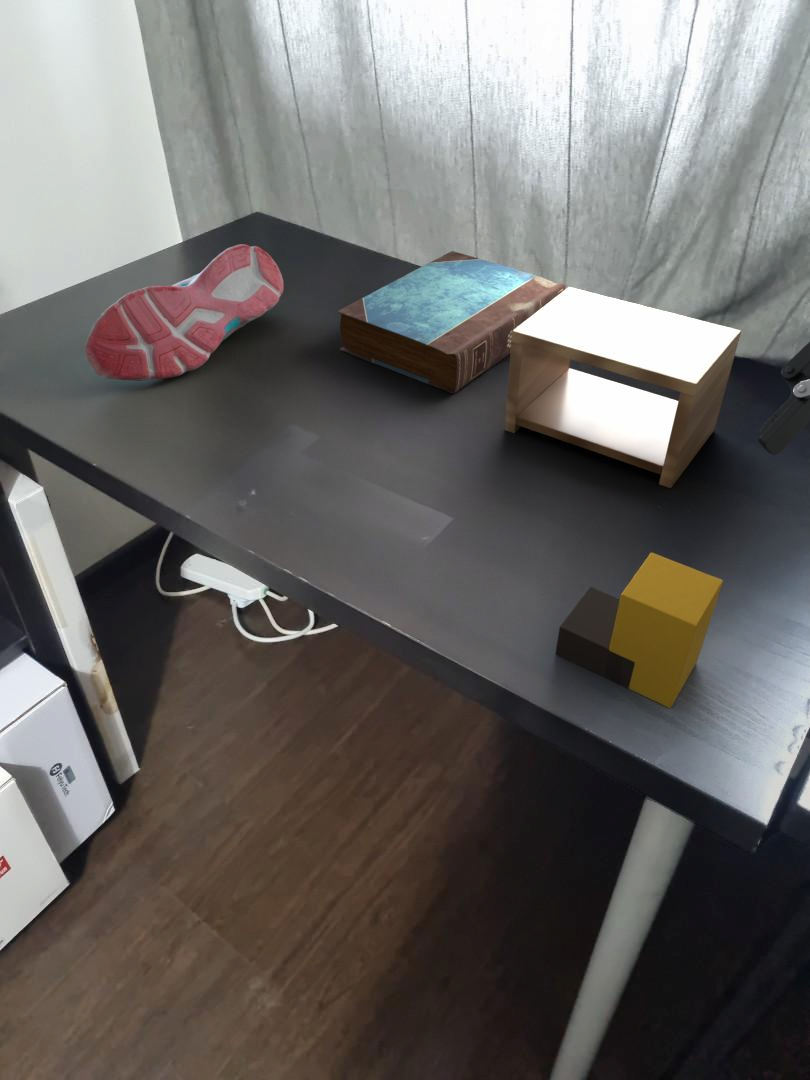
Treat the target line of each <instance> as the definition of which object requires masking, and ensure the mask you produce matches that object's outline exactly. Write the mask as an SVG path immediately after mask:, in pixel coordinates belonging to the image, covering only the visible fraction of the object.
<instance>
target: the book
mask: <svg viewBox="0 0 810 1080" xmlns="http://www.w3.org/2000/svg"><path fill="white" fill-rule="evenodd" d="M564 290H566V285H565V283H564V282H559V283H555V282H554V281H553V280H550V279H547V278H544V277H542V276H539V275H537V274H536V275H535V274H532V273H530V272H526V271H523V270H520V269H516V268H513V267H509V266H506V265H503V264H499V263H496V262H492V261H489V260H485V259H483V258H478V257H475V256H471V255H468V254H466V253H465V254H464V253H462V252H457V251H454V250H451V251H448V252H446V253H445V254H443V255H442V256H439V257H438V258H435V259H433V260H432V261H430V262H428V263H426V264H424V265H422V266H420V267H418V268H417V269H415V270H413V271H410V272H408V273H407V274H405V275H404V276H402V277H400V278H397V279H396V280H394V281H392V282H390V283H388V284H386V285H384V286H382V287H380V288H379V289H377V290H376V291H373V292H371V293H369V294H367V295H365V296H364V297H362V298H359V299H358V300H356V301H353V302H352V303H350V304H349V305H346V306H344V307H342V308H341V309H339V310H337V313H338V314H340V321H339V333H340V337H341V340H342V341H341V342H342V343H343V345H342V346H343V347H341V348H339V351H341V352H344V353H346V354H349V355H352V356H354V357H357V358H359V359H361V360H364V361H367V362H369V363H372V364H374V365H377V366H380V367H383V368H385V369H388V370H390V371H392V372H395V373H398V374H400V375H403V376H406V377H409V378H411V379H412V380H413V379H414V380H416V381H418V382H421V383H424V384H427V385H429V386H431V387H435V388H437V389H440V390H443V391H446V392H448V393H450V394H452V395H453V394H455V393H457V392H458V391H460V390H461V389H463V388H464V387H465V386H467V385H468V384H470V383H471V382H473V381H474V380H476V379H477V378H478V377H479V376H481V375H482V374H484V373H485V372H487V371H488V370H490V369H491V368H493V367H494V366H495V365H497V364H498V363H499V362H501V361H503V360H504V359H506V358H507V357H508V356H509V355H511V343H512V331H513V330H514V329H516V328H517V327H518V326H519V325H521V324H522V323H523V322H525V321H526V320H527V319H528V318H530V317H531V316H532V315H534V314H535V313H536V312H537V311H539V310H540V309H541V308H543V307H544V306H545V305H546V304H548V303H549V302H550V301H552V300H553V299H554V298H555V297H557V296H558V295H559V294H560V293H562V292H563V291H564Z"/></svg>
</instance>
